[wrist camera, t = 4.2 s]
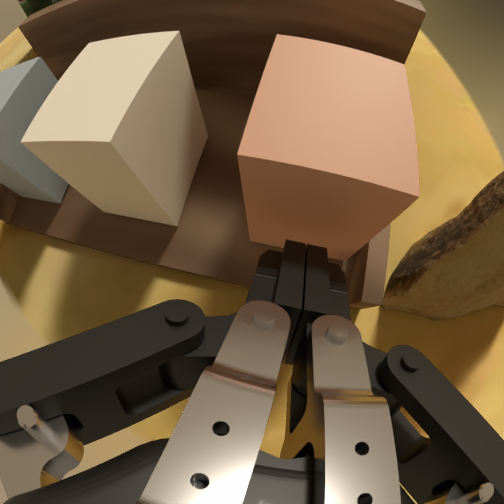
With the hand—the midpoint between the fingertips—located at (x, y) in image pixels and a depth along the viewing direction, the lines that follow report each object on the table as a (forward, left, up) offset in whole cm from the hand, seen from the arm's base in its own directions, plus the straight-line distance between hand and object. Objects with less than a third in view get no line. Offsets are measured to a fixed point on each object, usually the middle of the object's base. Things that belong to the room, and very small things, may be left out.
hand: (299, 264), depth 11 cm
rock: (+11, -4, -5) cm, 12 cm away
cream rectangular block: (-5, +8, -5) cm, 11 cm away
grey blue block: (-13, +13, -5) cm, 19 cm away
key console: (-4, +10, -5) cm, 12 cm away
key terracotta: (+2, +4, -5) cm, 7 cm away
